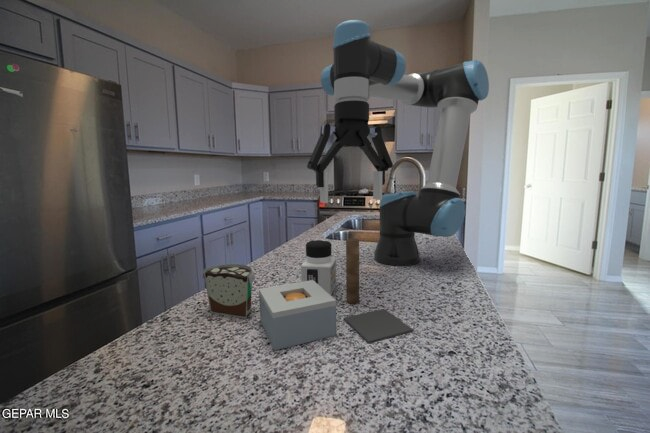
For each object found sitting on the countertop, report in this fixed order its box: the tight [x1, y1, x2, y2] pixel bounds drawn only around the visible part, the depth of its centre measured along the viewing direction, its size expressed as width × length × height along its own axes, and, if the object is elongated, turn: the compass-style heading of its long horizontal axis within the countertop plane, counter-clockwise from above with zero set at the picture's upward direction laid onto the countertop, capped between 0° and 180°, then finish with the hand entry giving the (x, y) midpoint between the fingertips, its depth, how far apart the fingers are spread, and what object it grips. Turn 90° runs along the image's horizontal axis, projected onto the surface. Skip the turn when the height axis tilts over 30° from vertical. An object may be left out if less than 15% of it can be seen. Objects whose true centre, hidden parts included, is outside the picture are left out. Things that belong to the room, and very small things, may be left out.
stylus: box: [345, 238, 360, 305], centre depth 73 cm, size 3×3×15 cm
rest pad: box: [343, 308, 414, 344], centre depth 63 cm, size 10×10×1 cm
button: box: [285, 293, 306, 301], centre depth 62 cm, size 4×4×3 cm
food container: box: [201, 263, 256, 319], centre depth 70 cm, size 12×6×10 cm, turn 71°
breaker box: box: [258, 280, 337, 351], centre depth 62 cm, size 12×12×7 cm
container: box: [300, 239, 337, 296], centre depth 81 cm, size 8×8×13 cm
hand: (351, 201), depth 70 cm, fingers open, 13 cm apart
